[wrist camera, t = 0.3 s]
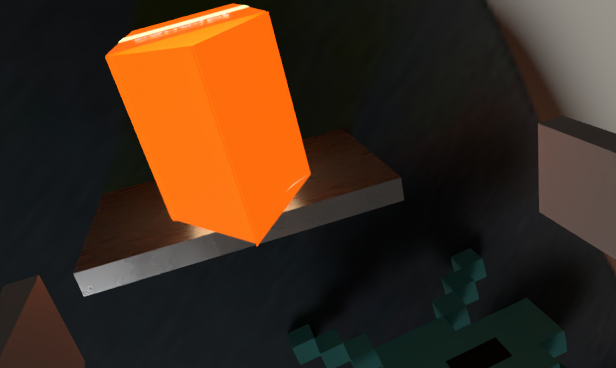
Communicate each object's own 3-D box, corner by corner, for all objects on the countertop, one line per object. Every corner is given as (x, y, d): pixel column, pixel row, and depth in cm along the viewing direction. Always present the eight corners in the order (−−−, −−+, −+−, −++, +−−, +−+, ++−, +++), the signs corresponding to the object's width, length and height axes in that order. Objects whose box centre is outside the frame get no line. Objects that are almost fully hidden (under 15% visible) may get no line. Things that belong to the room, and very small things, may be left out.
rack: (-30, -129, 30) (-148, -196, 19) (287, -184, 33) (341, -269, 22) (109, 212, 39) (84, 296, 29) (345, 146, 42) (404, 200, 31)
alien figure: (295, 349, 49) (364, 560, 31) (287, 333, 48) (354, 541, 30) (474, 264, 50) (639, 418, 32) (469, 247, 50) (637, 395, 32)
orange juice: (172, 144, 39) (169, 279, 21) (129, 30, 35) (79, 73, 17) (268, 115, 40) (344, 218, 22) (235, 1, 36) (294, 12, 18)
